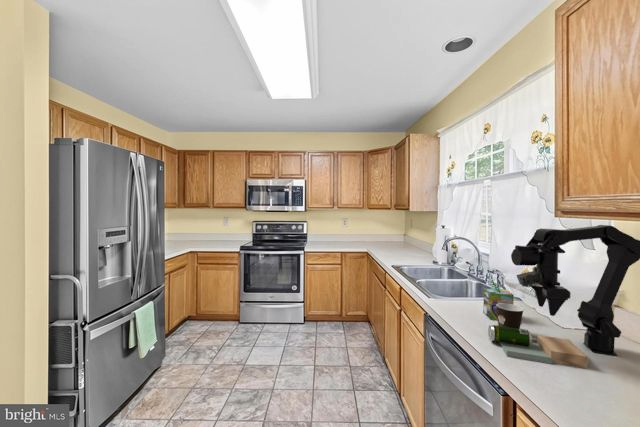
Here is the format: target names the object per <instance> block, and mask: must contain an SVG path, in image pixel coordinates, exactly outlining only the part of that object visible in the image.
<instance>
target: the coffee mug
mask: <svg viewBox="0 0 640 427" xmlns="http://www.w3.org/2000/svg"><path fill="white" fill-rule="evenodd" d="M494 306H496V307H497V315H496V314H495V312H494V310H493V308H494ZM492 311H493V313H494V315H495V316H496V318H497V319H498V320H497V326H504V327H511V328H519V329H521V326H522V320H523V319H522V318H523V312H524V308H523V307H521V306H519V305H516V304H513V305H512V304H506V303H499V304H496V305H492Z"/></svg>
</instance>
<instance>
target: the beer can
mask: <svg viewBox="0 0 640 427" xmlns="http://www.w3.org/2000/svg"><path fill="white" fill-rule="evenodd" d="M487 334H488V339H489V340H490V341H493V342H497V343H499V342H503V343H509V344H516V345H522V346H531V344H532V338H533V336H532V332H531V331H530V330H529V329H525V328H520V329H519V328H511V327H504V326H498V324H497V325H496V324H491V325H488V330H487Z"/></svg>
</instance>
